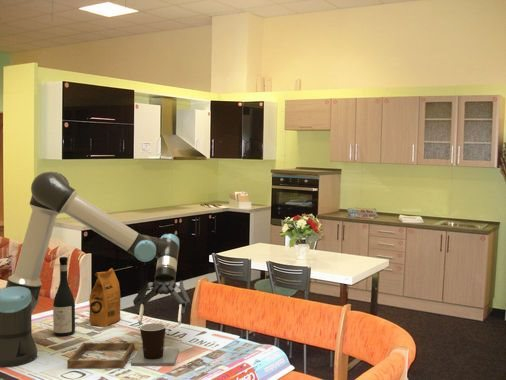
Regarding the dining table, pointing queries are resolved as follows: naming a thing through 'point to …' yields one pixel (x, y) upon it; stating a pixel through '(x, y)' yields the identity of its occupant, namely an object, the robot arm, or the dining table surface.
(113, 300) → the coffee package
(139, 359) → the slate coaster
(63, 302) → the wine bottle
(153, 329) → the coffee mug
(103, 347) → the walnut collar
